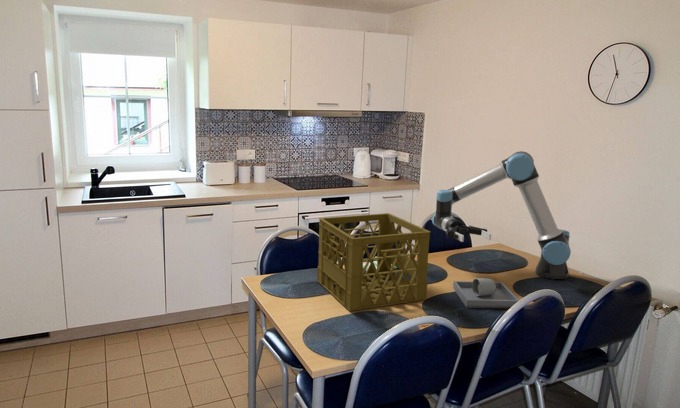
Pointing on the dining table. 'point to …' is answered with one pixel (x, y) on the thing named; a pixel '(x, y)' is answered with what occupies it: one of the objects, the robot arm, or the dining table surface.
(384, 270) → the milk crate
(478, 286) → the ceramic mug
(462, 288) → the tray
